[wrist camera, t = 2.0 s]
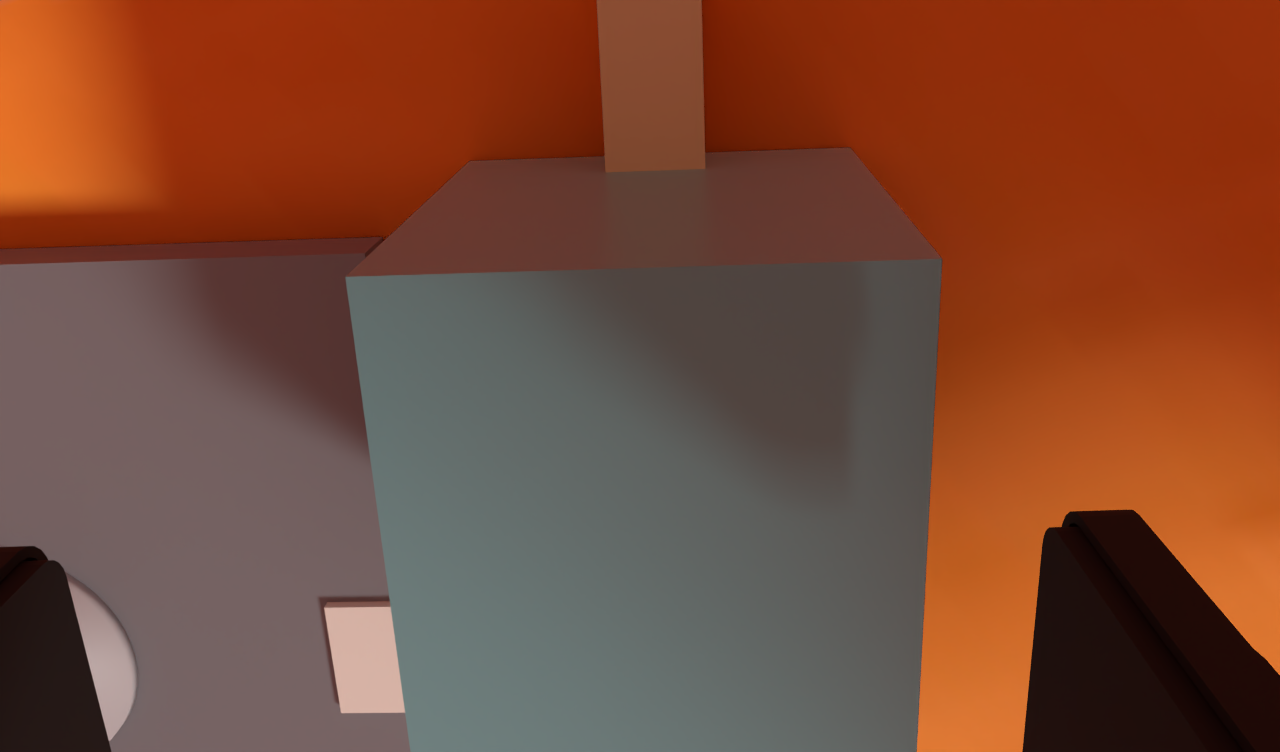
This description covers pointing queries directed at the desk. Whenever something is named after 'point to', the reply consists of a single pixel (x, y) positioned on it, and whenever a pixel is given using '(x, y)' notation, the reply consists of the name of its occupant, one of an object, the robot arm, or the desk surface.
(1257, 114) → the desk surface
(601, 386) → the grey-teal block
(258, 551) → the post base
